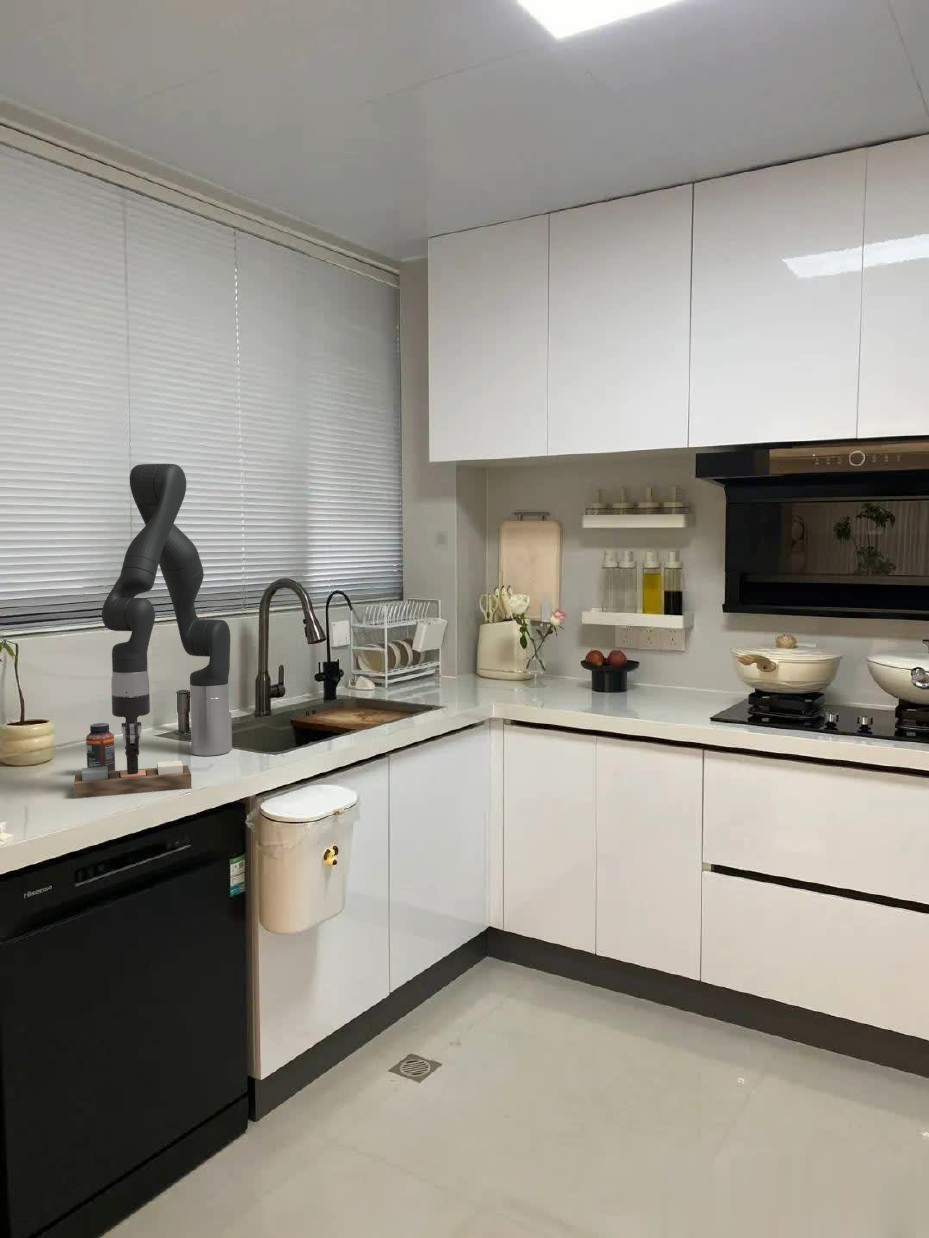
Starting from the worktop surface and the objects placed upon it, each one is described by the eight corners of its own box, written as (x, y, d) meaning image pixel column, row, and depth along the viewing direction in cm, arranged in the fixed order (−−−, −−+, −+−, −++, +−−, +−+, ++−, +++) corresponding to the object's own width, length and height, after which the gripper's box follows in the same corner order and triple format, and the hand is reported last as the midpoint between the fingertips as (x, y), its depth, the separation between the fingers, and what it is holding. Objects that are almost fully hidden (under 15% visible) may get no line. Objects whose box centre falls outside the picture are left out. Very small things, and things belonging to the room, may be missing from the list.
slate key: (107, 776, 202) (107, 766, 201) (108, 781, 197) (107, 771, 197) (82, 778, 200) (82, 768, 200) (82, 783, 195) (81, 773, 195)
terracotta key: (145, 779, 204) (145, 769, 204) (146, 784, 200) (146, 774, 200) (120, 781, 203) (120, 771, 202) (121, 787, 198) (120, 776, 198)
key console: (187, 778, 209) (187, 765, 209) (191, 788, 201) (191, 774, 201) (75, 787, 201) (75, 774, 201) (74, 798, 193) (73, 783, 193)
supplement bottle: (119, 770, 217) (117, 721, 216) (110, 776, 211) (108, 726, 210) (92, 770, 217) (91, 721, 216) (83, 777, 211) (81, 726, 210)
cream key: (181, 770, 207) (181, 760, 207) (183, 775, 202) (182, 765, 202) (157, 772, 205) (157, 762, 205) (158, 777, 200) (158, 767, 200)
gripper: (111, 689, 204) (113, 768, 206) (111, 697, 192) (114, 782, 193) (147, 687, 207) (149, 765, 208) (150, 695, 195) (152, 778, 196)
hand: (132, 773), depth 201 cm, fingers closed
